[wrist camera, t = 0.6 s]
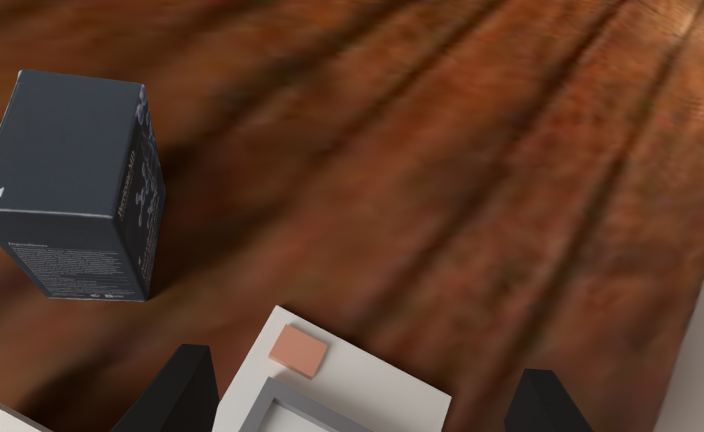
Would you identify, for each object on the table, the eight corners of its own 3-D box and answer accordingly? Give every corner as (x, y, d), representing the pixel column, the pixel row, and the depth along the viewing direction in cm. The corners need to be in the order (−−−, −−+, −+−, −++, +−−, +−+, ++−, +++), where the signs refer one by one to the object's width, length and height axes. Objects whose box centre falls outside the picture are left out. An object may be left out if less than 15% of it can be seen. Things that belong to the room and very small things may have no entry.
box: (150, 303, 29) (113, 218, 20) (46, 300, 28) (-44, 209, 19) (169, 192, 33) (145, 79, 24) (78, 185, 31) (16, 63, 22)
